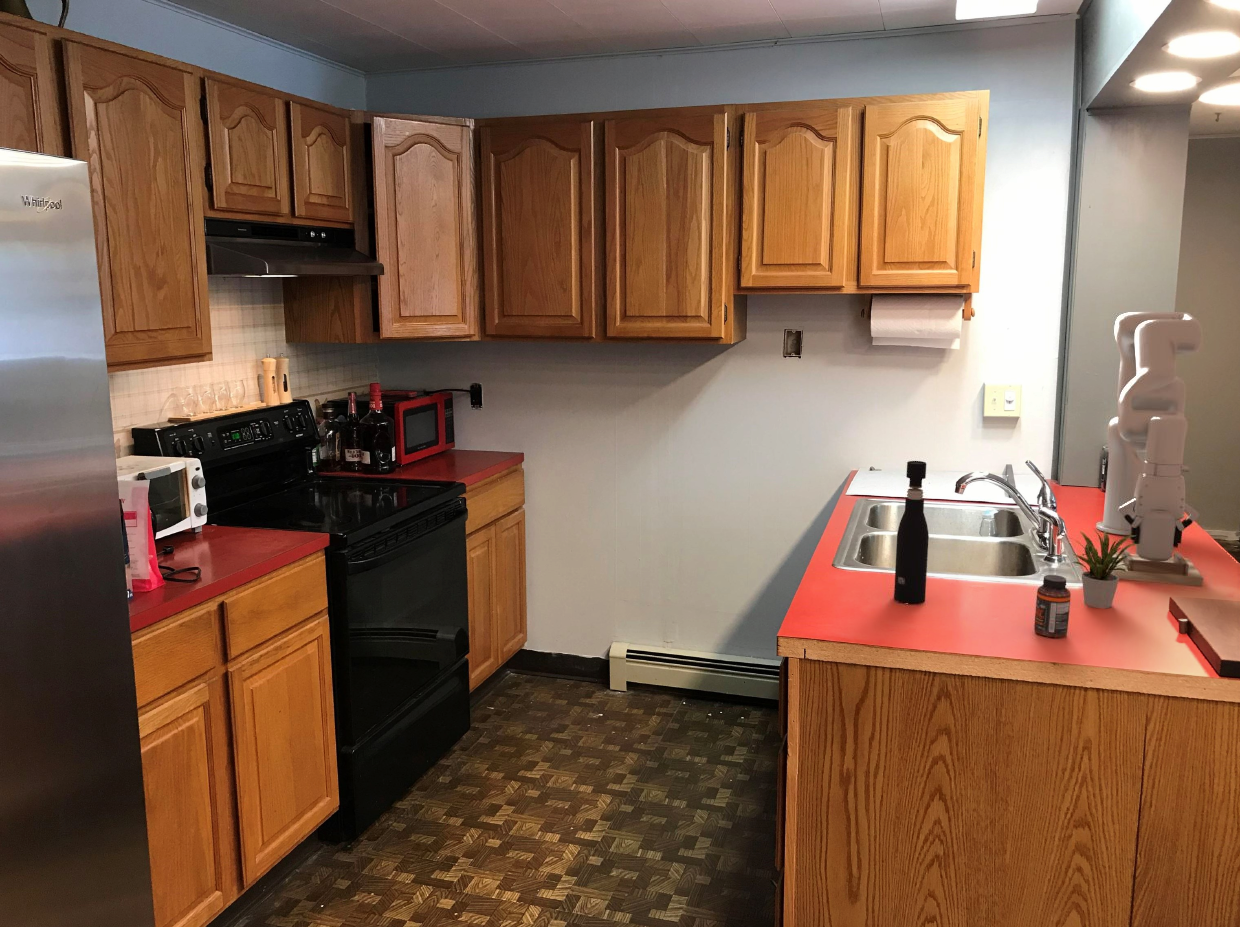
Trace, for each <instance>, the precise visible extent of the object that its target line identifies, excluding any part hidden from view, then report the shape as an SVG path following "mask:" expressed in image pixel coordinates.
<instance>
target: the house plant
mask: <svg viewBox="0 0 1240 927" xmlns="http://www.w3.org/2000/svg"><path fill="white" fill-rule="evenodd" d="M1093 530H1094V531H1095V533H1096V535H1097V536H1098V540H1099V544H1100V553H1101V556H1100V555H1099V551H1098V548H1095V545H1094V544H1093V541H1092V540H1091V539H1090V537H1088V536H1087V535H1086V534H1085V533H1084V532H1082V531H1079V532H1080V534H1081V535H1082V537H1083V539H1084V541H1085V543H1086V544H1085V546H1082V547H1083V549H1084V553H1082V556H1081V555H1079V554H1074V553H1072V555H1073V556H1075V557H1077V558H1078V559H1079V560H1081V561H1082V562H1084V563H1085V564H1087V565H1088V567H1089V569H1088V568H1087V566H1086V565H1084V564H1083V563H1081V562H1080V561H1073V562H1072V564H1077V565H1081V566H1082V567H1083V568H1085V569H1086V571H1084V572H1081V581H1082V590H1083V591H1082V592H1083V603H1084V604H1085V606H1088V607H1092V608H1096V607H1098V609H1109V608H1111V607H1112V604H1113V602H1114V598H1115V594H1116V591H1117V588H1118V584H1119V580H1120V579H1119V577H1118V576H1116V575H1114V574H1111V572H1112V571H1113V570H1121V571H1125V572H1126V570H1125V569H1122V568H1116V567H1117V565H1118V564H1119V563H1120V562H1121V561H1122V560H1123V559H1125V558H1126V557H1128V556H1132V555H1127V556H1124V557H1122V558H1119V556H1120V555H1121V554H1122V553H1123V552H1124V551H1125V550H1126V549H1128V548H1130V547H1131V546H1136V545H1142V544H1134V543H1131V544H1127V545H1126V546H1125V547H1120V546H1121V545H1123V543H1125V542H1126V541H1127V540H1128V539H1130V537H1133V536H1136V535H1131V536H1130V535H1126V536H1124V537H1122V538H1121V539H1118V540H1117V539H1116V540H1115V541H1114V542H1113V543H1112V544H1111V547H1110V537H1109V535H1108V533H1107V532H1105V531H1103V535H1102V534H1100V533H1101V530H1098V531H1097V530H1096V529H1095V528H1094V527H1093ZM1098 532H1099V533H1098ZM1070 539H1072V540H1073V538H1071V537H1070ZM1076 542H1077V543H1079V544H1080V542H1079V541H1078V540H1076ZM1119 547H1120V548H1119ZM1122 548H1123V549H1122ZM1119 550H1120V551H1119ZM1118 551H1119V552H1118ZM1108 552H1109V553H1108ZM1116 553H1119V554H1118V555H1117V556H1116V557H1113V555H1114V554H1116ZM1084 556H1086V558H1085V557H1084ZM1117 559H1119V560H1117ZM1122 562H1123V561H1122ZM1110 565H1111V566H1110ZM1121 565H1124V566H1128V567H1129V568H1130V565H1129V564H1121ZM1109 566H1110V567H1109ZM1118 566H1120V565H1118ZM1108 568H1109V569H1108ZM1114 568H1115V569H1114ZM1130 569H1131V568H1130Z"/></svg>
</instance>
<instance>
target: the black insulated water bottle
mask: <svg viewBox="0 0 1240 927" xmlns="http://www.w3.org/2000/svg"><path fill="white" fill-rule="evenodd" d="M905 476H906V478H907V479H909V481H908V482H909V484H908V487H909V488H908V489H907V491H906V493H907V494H906V496H907V497H905V498H904V499H905V503H904V512H903V513H902V516H901V519H900V522H899V524H898V529H897V533H896V549H895V552H896V553H895V572H894V574H895V575H894V590H893V591H894V592H893V599H895V602H897V601H899V602H898V603H900V602H902V603H901V604H904V603H908V604H907V605H913V604H914V605H920V604H921V603H922V604H924V603H925V601H926V591H927V590H926V588H927V575H928V574H927V572H928V570H927V569H928V556H929V536H930V535H929V529H928V523H927V519H926V516H925V512H924V510H925V509H924V508H925V506H924V505H925V498H923V497H924V495H923V494H924V490H923V489H922V488H923V480H924V479H926V478H927V477H926V476H927V462H925V461H921V460H909V461H907V462H906V475H905ZM922 604H921V605H922Z"/></svg>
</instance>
